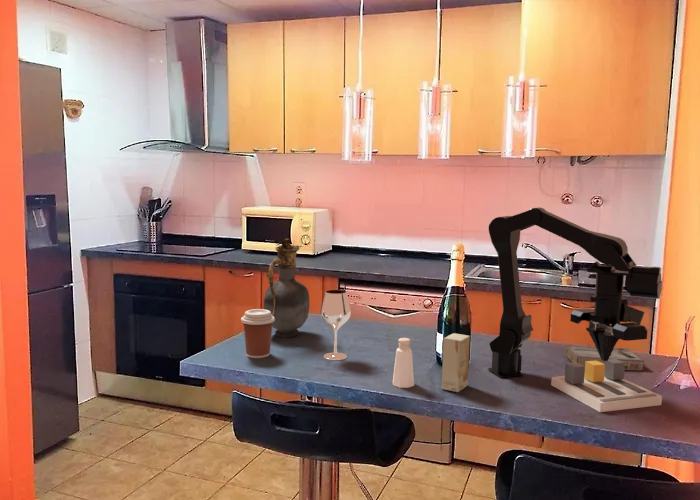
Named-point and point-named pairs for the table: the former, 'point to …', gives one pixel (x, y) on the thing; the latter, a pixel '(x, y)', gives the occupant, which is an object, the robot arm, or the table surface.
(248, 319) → the coffee cup
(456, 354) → the skincare box
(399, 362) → the pepper shaker
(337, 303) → the wineglass
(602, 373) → the block
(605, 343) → the robot arm
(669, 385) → the table surface
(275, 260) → the pitcher
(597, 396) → the panel
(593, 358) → the box
